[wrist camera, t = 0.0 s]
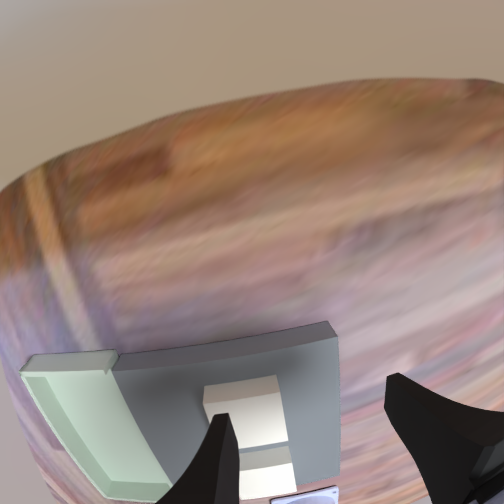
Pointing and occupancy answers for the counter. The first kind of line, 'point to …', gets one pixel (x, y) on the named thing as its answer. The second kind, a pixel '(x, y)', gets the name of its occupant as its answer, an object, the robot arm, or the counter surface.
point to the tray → (95, 423)
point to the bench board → (231, 370)
